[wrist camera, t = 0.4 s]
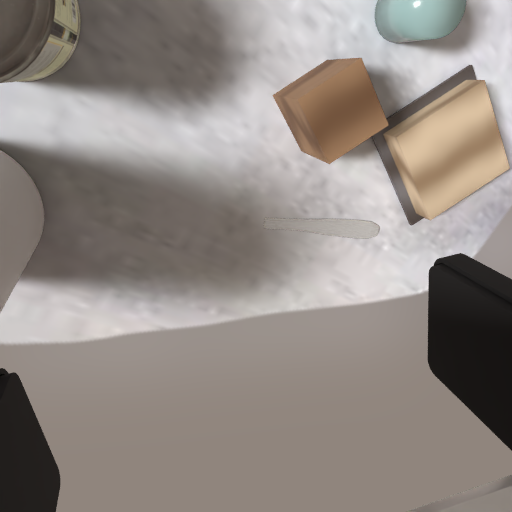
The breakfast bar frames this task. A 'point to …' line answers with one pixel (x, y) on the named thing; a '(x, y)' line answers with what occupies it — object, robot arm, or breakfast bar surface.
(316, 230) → the butter knife
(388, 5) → the teal capsule
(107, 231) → the breakfast bar surface
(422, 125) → the plinth
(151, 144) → the breakfast bar surface
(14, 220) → the cylinder vase
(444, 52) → the breakfast bar surface
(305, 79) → the walnut block
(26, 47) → the coffee can
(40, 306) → the breakfast bar surface
